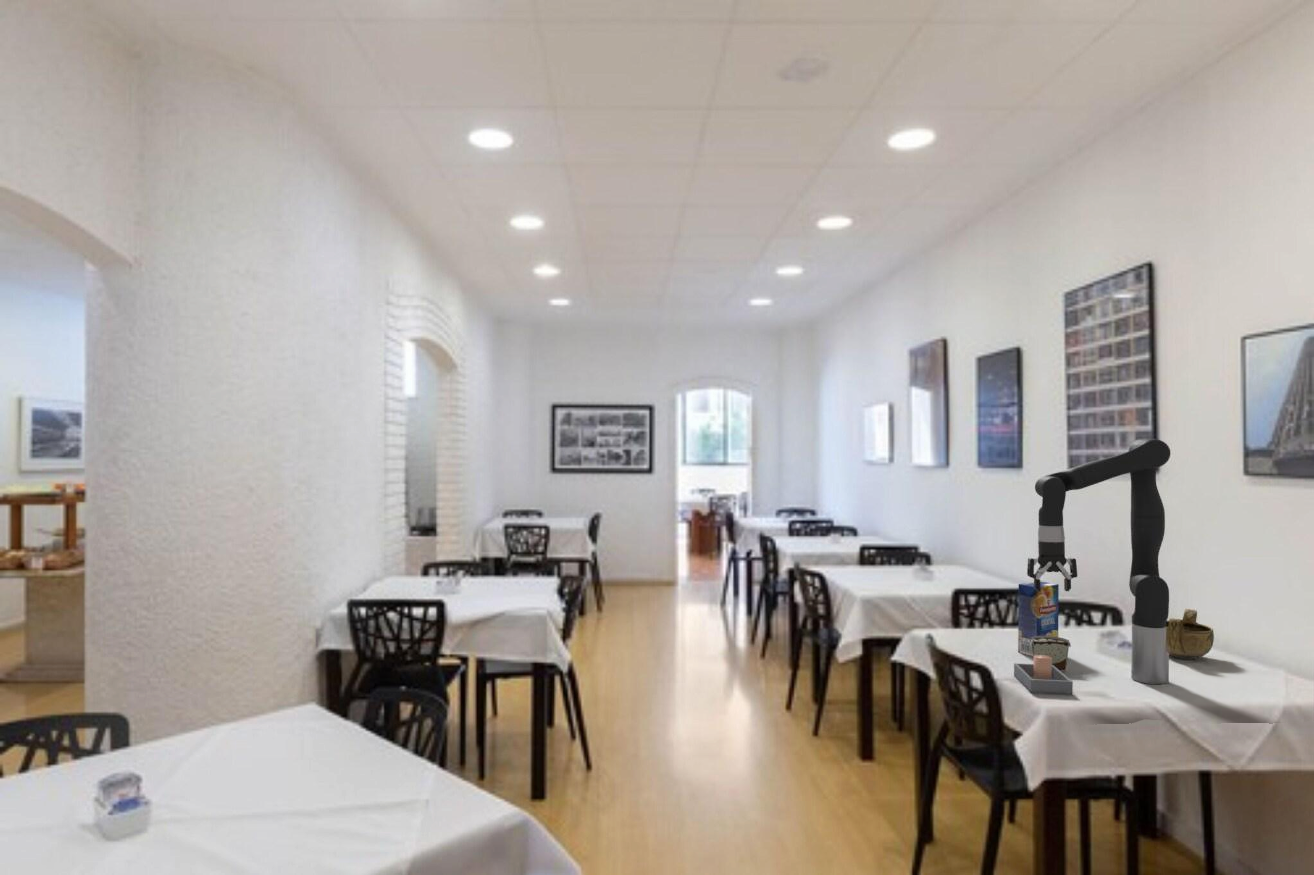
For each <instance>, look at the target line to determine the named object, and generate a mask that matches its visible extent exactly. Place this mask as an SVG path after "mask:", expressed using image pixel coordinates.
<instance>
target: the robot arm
mask: <svg viewBox="0 0 1314 875" xmlns="http://www.w3.org/2000/svg"><path fill="white" fill-rule="evenodd" d="M1170 458H1171V449H1170V447H1169V445H1168V444H1167V443H1166V442H1165V441H1163V440H1161V439H1158V438H1139V439H1136V440H1133V442H1132V443H1131V444H1130V445H1129V448H1128V451H1126V452H1123V453H1121V454H1118V455H1113V456H1110V457H1105V458H1102V459H1101V458H1100V459H1097V460H1092V461H1087V462H1085V463H1083V464H1079V465H1077V466H1074V467H1072V468H1069V469H1066V470H1063V471H1058V472H1057V471H1056V472H1055V473H1050V474H1046V475H1044V476H1042V477H1040V478H1039V479H1037V480H1036V482H1035V485H1034V490H1035V493H1036V494H1037V495H1038V496H1040V497H1042V500H1041V501H1042V503H1041V507H1040V508H1039V509H1038V529H1037V542H1038V545H1037V547H1038V548H1037V550H1038V551H1037V552H1038V557H1037V558H1033V557H1028V558H1027V569H1026V571H1027V573H1026V574H1027V577H1029V578H1032V579H1033V582H1034V588H1035V589H1036V591H1041V584H1040V581H1041V579H1040V578H1041V577H1042V576H1043V575H1044V574H1045V573H1046V572H1047V573H1053V572H1054V573H1059V572H1060V574H1061V575H1062V576H1063V577H1064V578H1063V582H1064V583H1063V584H1064V589H1063V590H1064V591H1065V592H1070V590H1071V588H1072V579H1074V578H1078V567H1077V566H1078V565H1077V559H1076V558H1073V557H1069V558H1066V545H1065V544H1066V542H1065V540H1066V537H1065V536H1066V535H1065V528H1064V513H1063V512H1064V509H1065V502H1066V496H1067V492H1069V491H1077V490H1081V489H1085V488H1088V487H1090V486H1093V485H1096V484H1099V483H1102V482H1104V481H1107V480H1111V479H1113V478H1114V479H1115V478H1116V477H1119V476H1122V475H1127V474H1129V475H1130V476H1129V477H1130V541H1131V543H1130V544H1131V568H1130V574H1129V582H1128V585H1129V586H1128V587H1129V591H1130V592H1131V595H1133V597H1134V611H1133V613H1132V615H1131V666H1130V667H1131V671H1130V672H1131V679H1132V680H1134V681H1137V682H1139V683H1145V684H1150V685H1151V684H1152V685H1163V684H1169V683H1170V678H1169V677H1170V655H1169V653H1168V652H1167V651H1166V621H1168V620H1169V619H1168V618H1169V611H1170V609H1169V608H1170V588H1169V586H1168V583H1167V582H1166V581H1165V580H1164V579H1163V578H1162V577H1160V570H1159V555H1160V549H1161V547H1162V543H1163V541H1164V536H1165V530H1166V528H1165V527H1166V517H1165V516H1166V512H1165V506H1164V503H1163V500H1162V498H1161V494H1160V492H1159V489H1158V485H1157V468H1160V467H1162V466H1165V464H1167V463H1168V461H1169V460H1170ZM1037 563H1038V565H1039V566H1038V568H1037V569H1036V571H1035V566H1036V565H1037ZM1066 564H1068V565H1069V572H1068V571H1067V569H1066V568H1065V567H1064V566H1065V565H1066Z"/></svg>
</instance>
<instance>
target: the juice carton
mask: <svg viewBox="0 0 1314 875" xmlns="http://www.w3.org/2000/svg"><path fill="white" fill-rule="evenodd" d="M1040 584H1041V591H1036V589H1035V588H1034V581H1032V582H1031V581H1030V582H1025V583H1018V616H1017V618H1018V621H1017V622H1018V625H1017V626H1018V628H1017V630H1018V634H1017V635H1018V636H1017V638H1018V640H1017V643H1018V644H1017V647H1018V649H1017V651H1018V653H1021V654H1023V655H1027V656H1031V657H1034V656H1033V646H1031V645H1030V643H1031V639H1032V637H1035V636H1054V637H1059V592H1060V591H1059V590H1060V589H1059V587H1060V586H1059V583H1052V582H1046V581H1041V580H1040Z"/></svg>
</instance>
